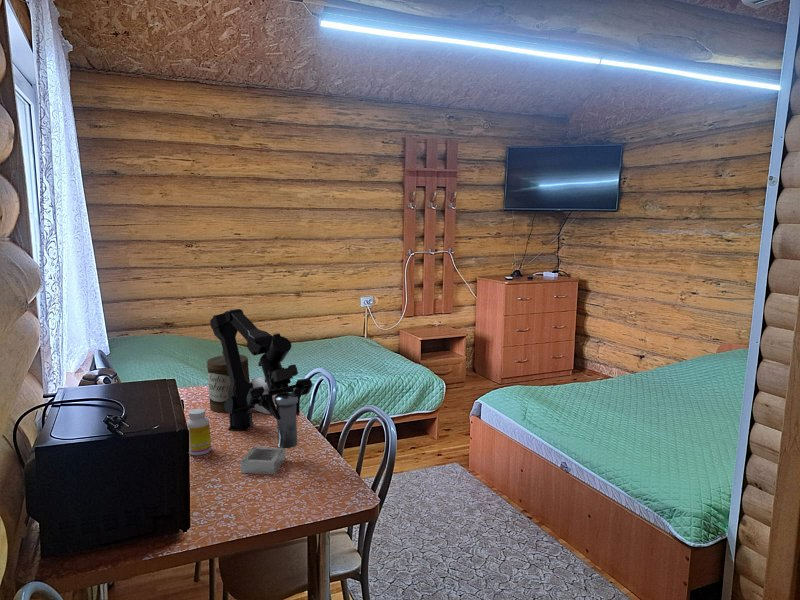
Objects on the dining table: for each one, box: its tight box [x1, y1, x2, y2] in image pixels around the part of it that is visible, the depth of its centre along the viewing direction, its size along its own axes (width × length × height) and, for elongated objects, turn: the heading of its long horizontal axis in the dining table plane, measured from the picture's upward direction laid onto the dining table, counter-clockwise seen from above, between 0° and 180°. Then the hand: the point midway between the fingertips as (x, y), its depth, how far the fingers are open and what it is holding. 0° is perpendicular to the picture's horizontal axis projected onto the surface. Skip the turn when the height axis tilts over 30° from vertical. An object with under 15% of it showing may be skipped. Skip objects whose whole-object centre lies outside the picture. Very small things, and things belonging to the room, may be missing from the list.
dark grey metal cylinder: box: [274, 392, 298, 449], centre depth 163 cm, size 7×7×14 cm
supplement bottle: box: [186, 408, 212, 456], centre depth 171 cm, size 7×7×13 cm
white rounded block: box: [250, 376, 275, 415], centre depth 205 cm, size 10×4×12 cm, turn 48°
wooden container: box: [206, 350, 251, 414], centre depth 210 cm, size 15×15×22 cm
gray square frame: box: [240, 446, 286, 475], centre depth 161 cm, size 10×10×4 cm
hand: (288, 417), depth 162 cm, fingers closed on dark grey metal cylinder, 6 cm apart
